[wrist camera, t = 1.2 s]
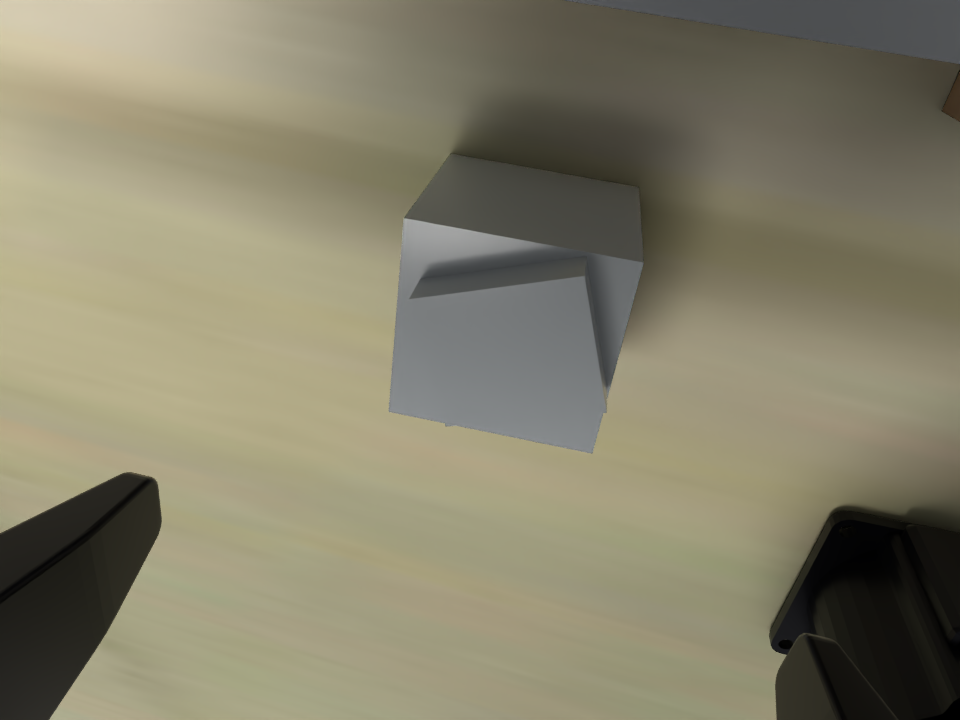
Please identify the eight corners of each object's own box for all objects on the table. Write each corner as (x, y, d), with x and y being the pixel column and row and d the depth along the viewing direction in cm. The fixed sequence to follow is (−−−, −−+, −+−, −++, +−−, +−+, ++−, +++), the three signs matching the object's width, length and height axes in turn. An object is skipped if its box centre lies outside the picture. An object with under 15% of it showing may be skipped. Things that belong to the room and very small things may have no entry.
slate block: (598, 349, 22) (590, 480, 17) (433, 317, 22) (376, 436, 17) (639, 186, 19) (645, 283, 14) (451, 152, 19) (390, 235, 14)
